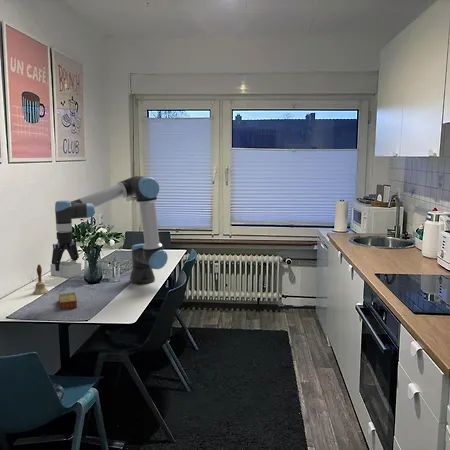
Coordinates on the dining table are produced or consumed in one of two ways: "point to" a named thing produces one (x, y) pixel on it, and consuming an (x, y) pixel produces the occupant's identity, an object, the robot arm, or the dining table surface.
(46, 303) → the dining table surface
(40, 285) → the hand bell
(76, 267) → the crate
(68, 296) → the carton
